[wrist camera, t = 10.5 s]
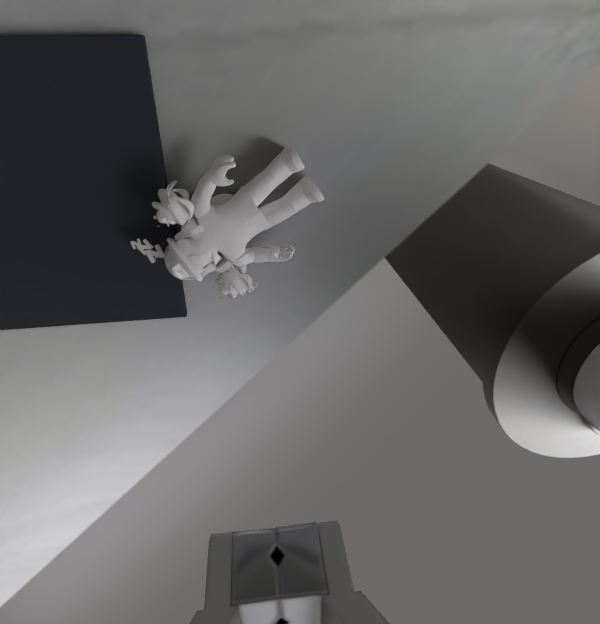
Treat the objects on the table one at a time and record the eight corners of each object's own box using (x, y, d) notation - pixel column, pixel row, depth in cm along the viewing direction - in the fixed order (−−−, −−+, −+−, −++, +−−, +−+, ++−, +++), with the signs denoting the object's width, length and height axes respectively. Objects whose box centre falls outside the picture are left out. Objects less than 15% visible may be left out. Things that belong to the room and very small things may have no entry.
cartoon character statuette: (260, 108, 28) (111, 220, 29) (274, 112, 25) (105, 239, 25) (329, 219, 33) (199, 314, 33) (348, 235, 30) (204, 340, 30)
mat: (144, 35, 25) (142, 35, 25) (187, 313, 34) (186, 317, 33) (-168, 37, 23) (-178, 36, 23) (-38, 329, 32) (-43, 333, 32)
